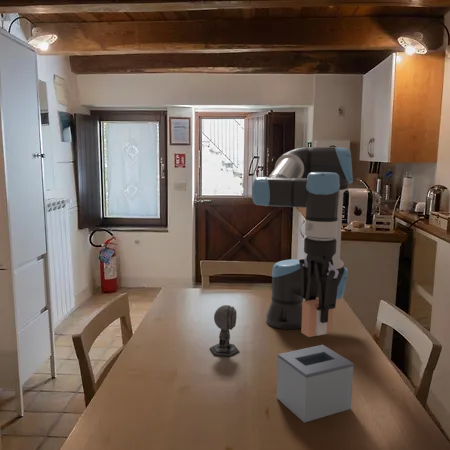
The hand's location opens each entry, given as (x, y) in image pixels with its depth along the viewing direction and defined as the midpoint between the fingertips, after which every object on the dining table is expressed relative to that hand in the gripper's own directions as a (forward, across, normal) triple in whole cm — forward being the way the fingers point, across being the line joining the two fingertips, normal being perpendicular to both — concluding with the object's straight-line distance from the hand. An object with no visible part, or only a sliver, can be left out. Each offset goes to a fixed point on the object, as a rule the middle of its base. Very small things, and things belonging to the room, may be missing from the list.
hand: (316, 331), depth 112 cm
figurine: (+19, -37, -7) cm, 42 cm away
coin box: (+19, 0, 0) cm, 19 cm away
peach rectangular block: (0, 0, 0) cm, 0 cm away
